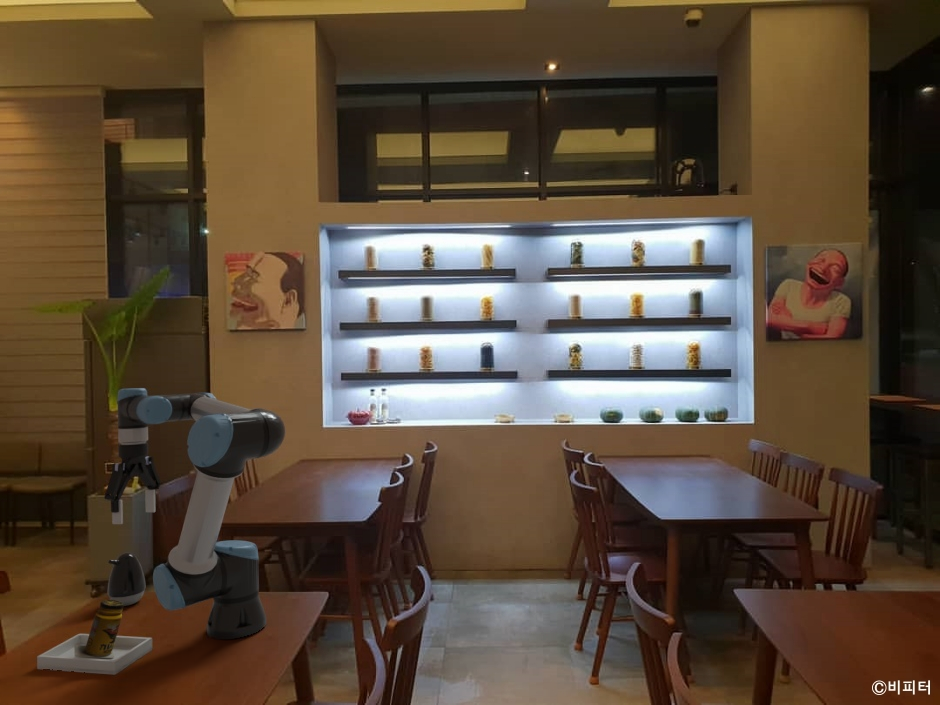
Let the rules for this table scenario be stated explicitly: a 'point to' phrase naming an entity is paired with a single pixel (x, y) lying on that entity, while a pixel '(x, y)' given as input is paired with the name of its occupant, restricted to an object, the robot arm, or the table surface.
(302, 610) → the table surface
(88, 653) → the condiment
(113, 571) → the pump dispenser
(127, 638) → the white tray
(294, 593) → the table surface
